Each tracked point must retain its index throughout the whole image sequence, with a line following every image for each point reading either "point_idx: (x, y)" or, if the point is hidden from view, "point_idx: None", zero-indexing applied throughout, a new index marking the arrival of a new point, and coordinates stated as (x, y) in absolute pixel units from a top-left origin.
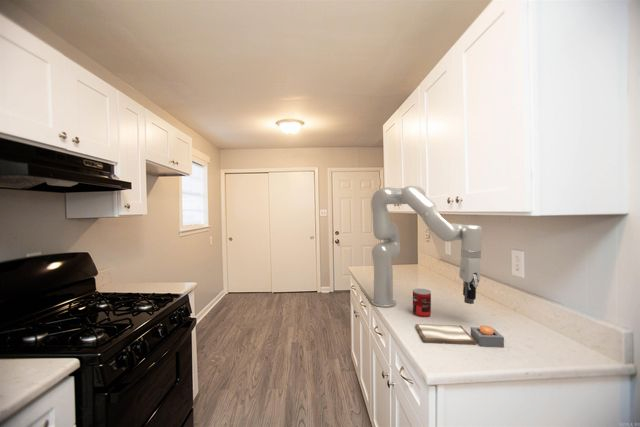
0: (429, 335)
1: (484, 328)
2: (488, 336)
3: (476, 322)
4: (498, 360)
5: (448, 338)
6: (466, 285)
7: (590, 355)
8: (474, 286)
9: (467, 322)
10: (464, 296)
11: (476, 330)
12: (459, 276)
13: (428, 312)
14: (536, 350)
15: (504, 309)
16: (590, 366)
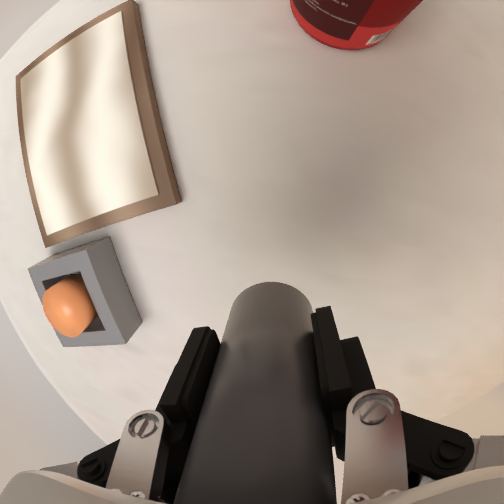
0: (34, 83)
1: (52, 303)
2: (41, 299)
3: (305, 293)
4: (13, 285)
5: (27, 151)
6: (202, 445)
7: None
8: (60, 467)
9: (291, 247)
10: (274, 311)
11: (65, 268)
12: (500, 479)
13: (310, 25)
14: (113, 397)
15: (461, 397)
16: (102, 439)
